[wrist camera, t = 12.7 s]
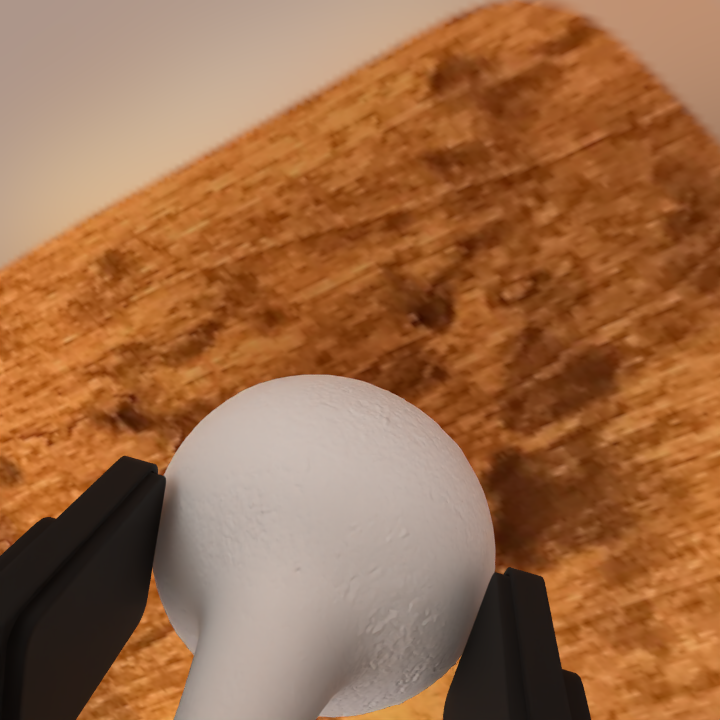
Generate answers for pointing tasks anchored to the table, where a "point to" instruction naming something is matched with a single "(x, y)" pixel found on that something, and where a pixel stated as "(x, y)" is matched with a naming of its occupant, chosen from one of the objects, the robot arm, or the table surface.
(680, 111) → the table surface
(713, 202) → the table surface
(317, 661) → the garlic bulb
